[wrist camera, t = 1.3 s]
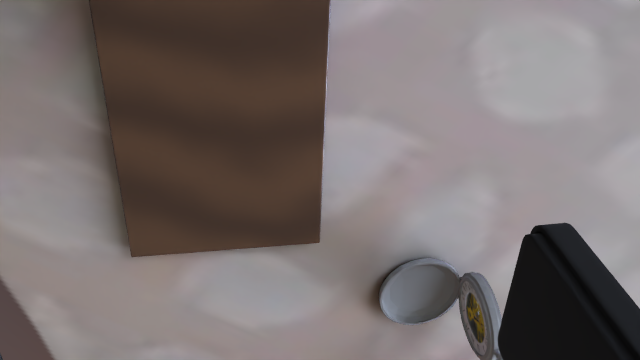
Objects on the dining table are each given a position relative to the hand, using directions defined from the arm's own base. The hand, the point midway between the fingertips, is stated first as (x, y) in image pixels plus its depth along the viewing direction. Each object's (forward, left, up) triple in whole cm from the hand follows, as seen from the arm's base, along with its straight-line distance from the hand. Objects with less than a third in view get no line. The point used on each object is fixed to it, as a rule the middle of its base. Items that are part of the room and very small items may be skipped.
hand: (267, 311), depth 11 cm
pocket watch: (+26, +15, -27) cm, 40 cm away
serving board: (+10, -1, -27) cm, 29 cm away
